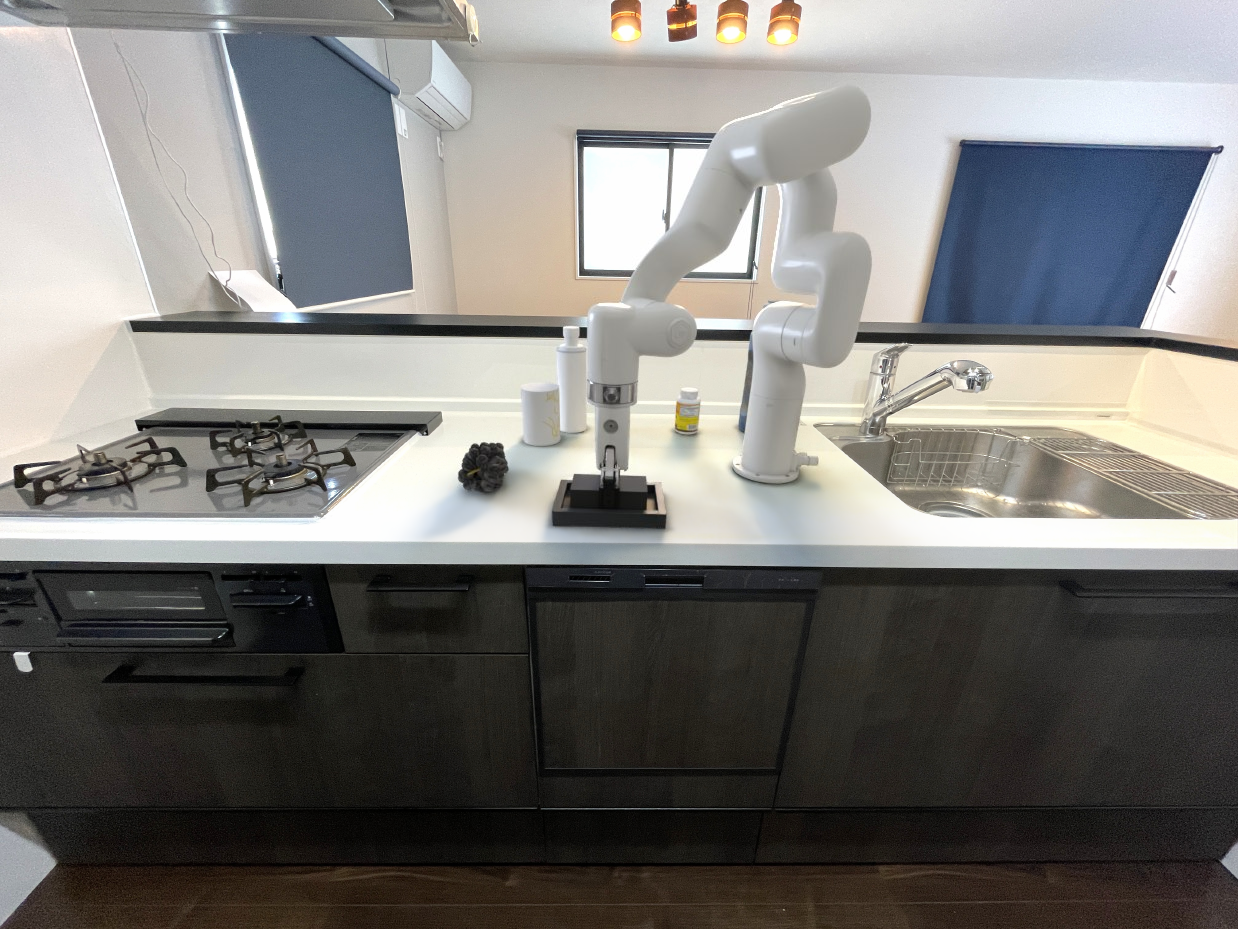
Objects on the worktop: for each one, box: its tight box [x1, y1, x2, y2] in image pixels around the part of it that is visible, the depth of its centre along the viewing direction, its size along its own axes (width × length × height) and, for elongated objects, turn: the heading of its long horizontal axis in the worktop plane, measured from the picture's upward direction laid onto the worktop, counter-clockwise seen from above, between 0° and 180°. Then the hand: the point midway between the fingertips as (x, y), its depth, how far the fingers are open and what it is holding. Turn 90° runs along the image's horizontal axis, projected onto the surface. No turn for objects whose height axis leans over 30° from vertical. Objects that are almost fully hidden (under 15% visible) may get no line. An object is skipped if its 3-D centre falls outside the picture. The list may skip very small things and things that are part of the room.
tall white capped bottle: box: [556, 325, 588, 434], centre depth 112 cm, size 7×7×25 cm
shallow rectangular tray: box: [551, 479, 667, 530], centre depth 80 cm, size 17×11×2 cm, turn 89°
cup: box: [520, 381, 561, 447], centre depth 107 cm, size 8×8×12 cm
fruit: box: [457, 441, 510, 493], centre depth 88 cm, size 9×8×15 cm
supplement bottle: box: [674, 386, 702, 436], centre depth 115 cm, size 6×6×10 cm
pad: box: [570, 473, 648, 510], centre depth 79 cm, size 12×6×4 cm, turn 89°
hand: (609, 498), depth 80 cm, fingers closed on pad, 6 cm apart
